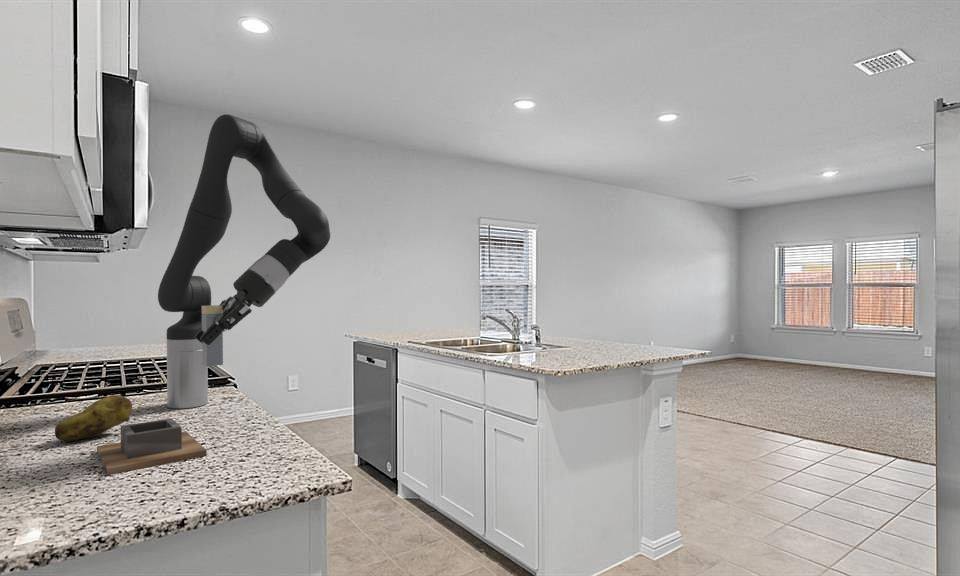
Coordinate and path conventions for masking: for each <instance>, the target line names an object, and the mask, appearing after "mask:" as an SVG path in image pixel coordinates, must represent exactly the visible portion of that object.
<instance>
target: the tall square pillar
mask: <svg viewBox="0 0 960 576" xmlns="http://www.w3.org/2000/svg"><path fill="white" fill-rule="evenodd" d="M219 305H220V304H219ZM219 305H215V304H214V305H212V304H211V306H202V335H203V334H204V333H205V332H206V331H207V330H208V329H209V328H210V327H211V326H212V325H215V324H214V323H215V321H216V320H218V319H219V318H220V317H221V312H222V306H219ZM223 333H224V332H223V331H222V333H221V334H220V335H219V336H218V337H217V338H216V339H215V340H214V341H213V342H212V343H211V344H210V345H207V344H205V343H204V342H203V341H202V365H205V366H208V367H215V366H217V367H218V366H223V365H224V355H223V354H224V346H223V345H224V343H223V342H224V340H223V339H224V338H223V336H224V334H223Z"/></svg>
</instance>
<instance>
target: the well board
mask: <svg viewBox="0 0 960 576" xmlns="http://www.w3.org/2000/svg"><path fill="white" fill-rule="evenodd" d="M96 452H97V454H98V457H99V460H100V461H101V464H102V466H103V468H104V470H105V472H106V474H107V475H109V476H110V475H113V474H119V473H123V472H128V471H134V470H138V469H145V468H149V467H154V466H160V465H164V464H170V463H175V462H179V461H185V460H190V459H195V458H200V457H201V456H202V457H206V455H208V452H207V449H206V448H205V447H204V446H203V445H202V444H201V443H199V442H198V441H197V440H196V439H195V438H194V436H192V435H191V434H189V432H188V431H182V426H180V424H178V422H176V421H175V420H174V419H173V418H166V419H159V420H153V421H146V422H139V423H131V424H125V425H120V442H114V443H109V444H104V445H97V446H96Z"/></svg>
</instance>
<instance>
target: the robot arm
mask: <svg viewBox="0 0 960 576" xmlns="http://www.w3.org/2000/svg"><path fill="white" fill-rule="evenodd" d="M234 157H235V158H239V159H243V160H244V159H245V160H246V161H247V162H248V163H250V164H251V165H252V166H253V167H254V168H255V169H256V170H257V171H258V172H259V174H260V176H261V182H262V187H263V191H264V192H265V194H266V196H267V197H268V199H269V200H270V202H271V204H273V205H274V207H275V208H276V209H277V210H278V212H279V213H280V214H281V215H282V216H283V217H284V218H286V219H288V220H290V221H291V222H292V223H293V225H294V227H295V228H296V230H297V235H295V237H293V238H291V239H288V238H287V239H286V238H283V239H280V240H278V241H277V242H276V243H275V244H274V245H273V246H271V248H270V249H269V250H268V251H267V252H266V253H265V254H264V255H263V256H261V257H260V258H258V259H257V260H256V261H255V262H253V263H252V264H251V265H250V266H249V267H248V268H247V269H246V270H245V271H244V272H243V273H242V274H240V276H239V277H238V278H237V279H236V280H235V281H234V282H233V287H234V290H236V294H234V295H233V296H229V297H227V298H226V299H224V300H222V301H221V302H220V304H219V306H222V312H221V317H220V318H219V319H218V320H216V321H215V323H214V324H215V325H212V326H211V327H210V328H209V329H208V330H207V331H206V332H205V333H204V334H203V335H202V306H211V305H212V290H211V286H210V284H209V281H208V280H207V279H206V278H205V277H203V276H200V275H194V272H195V270H196V268H197V266H198V265H199V263H200V262H201V261H202V260H203V258H204V257H206V256H207V254H208V253H209V252H211V250H212V249H214V247H216V246H217V244H219V243H220V241H221V240H222V238H223V237H224V235H225V234H226V231H227V228H228V225H229V222H230V219H231V216H232V212H233V206H232V200H231V195H230V190H229V186H228V175H229V174H228V173H229V170H230V166H231V163H232V161H233V158H234ZM200 170H201V171H200V174H199V177H198V181H197V185H196V188H195V191H194V194H193V197H192V199H191V202H190V204H189V208H188V210H187V213H186V217H185V220H184V224H183V227H182V231H181V232H180V236H179V239H178V242H177V245H176V246H175V249H174V251H173V252H174V253H173V254H172V256H171V259H170V261H169V263H168V265H167V267H166V270H165V271H164V274H163V276H162V278H161V281H160V284H159V287H158V290H157V291H158V292H157V301H158V304H159V306H160V308H161V309H162V310H164V311H165V312H168V313H182V316H181V318H180V320H179V321H177V322H176V323H174V324H172V325H171V326H169V327H168V328H167V329H166V397H167V398H166V399H167V400H166V402H167V404H166V406H167V408H169V409H189V408H190V409H191V408H196V407H201V406H204V405H207V404H208V403H209V399H208V398H209V396H208V395H209V391H208V390H209V381H208V379H209V372H208V370H209V369H208V368H209V366H205V365H202V341H203V342H204V343H205V344H207V345H210V344H211V343H212V342H213V341H214V340H215V339H216V338H217V337H218V336H219V335H220V334H221V333H222V331H223V333H225V332H227V331H230V330H232V329H233V328H234V327H235V326H237V325H238V324H239V323H240V322H241V321H242V320H243V319H245V318H246V317H247V316H248V315H249V314H251V313H252V310H253V309H251V307H252V305H253V306H254V307H257V308H261V307H263V306H264V305H265V304H267V302H268V301H269V300H270V299H271V298H272V297H273V296H274V295H275V294H276V292H278V291H279V290H280V289H281V288H282V287H283V286H284V284H286V282H287V280H288V279H289V278H290V277H291V276H292V275H294V273H295V272H296V271H297V269H299V268H300V266H302V264H304V263H305V262H307V261H309V260H310V259H313V257H315V256H316V255H318V254H319V253H321V252H322V251H323V250H324V249H325V248H326V247H327V246H328V245H329V241H330V240H331V232H330V231H331V230H330V224H329V223H330V222H329V219H328V217H327V215H326V213H325V212H324V211H323V209H322V208H321V207H320V206H319V205H318V204H317V203H315V202H314V201H313V200H312V199H310V198H309V197H308V196H306V194H305V193H304V191H302V189H301V188H300V187H299V186H298V184H297V183H296V181H295V180H294V179H292V177H291V176H290V175H289V172H287V171H286V169H285V167H284V166H283V164H282V163H281V161H280V159H279V158H278V156H277V154H276V153H275V151H274V150H273V148H272V145H271V144H270V142H269V141H268V138H267V136H266V135H265V133H264V131H263V130H262V129H261V128H260V126H258V125H257V124H255V123H254V122H252V121H249V120H246V119H243V118H240V117H237V116H234V115H232V114H222V115H220V116H218V117H216V119H215V121H214V122H213V124H212V126H211V129H210V132H209V134H208V139H207V143H206V149H205V153H204V158H203V164H202V166H201V169H200Z"/></svg>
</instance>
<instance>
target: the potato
mask: <svg viewBox="0 0 960 576" xmlns="http://www.w3.org/2000/svg"><path fill="white" fill-rule="evenodd" d="M132 409H133V403H132V401H131V400H130V399H129V398H128V397H125V396H123V395H117V394H116V395H114V394H113V395H109V396H105V397H103V398H100V399H98V400H96V401H94V402H93V403H91V404H90V405H89V406H88V407H86V408H85V409H84V410H82V411H81V412H78V413H75V414H73V415H71V416H69V417H67V418H65V419H64V420H62V421H60V422H59V423H58V424H57V425H56V426H55V427H54V434H55V438H56V439H58V440H59V441H62V442H64V443H65V442H66V443H68V442H69V443H70V442H73V441H78V440H83V439H84V440H85V439H88V438H93V437H96V436H99V435H101V434H103V433H106V432H107V431H109V430H110V429H112V428H114V427H117V426H118V425H121V424H122V423H124V422H129V421H130V420H131V419H130V416H131V414H132Z"/></svg>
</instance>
